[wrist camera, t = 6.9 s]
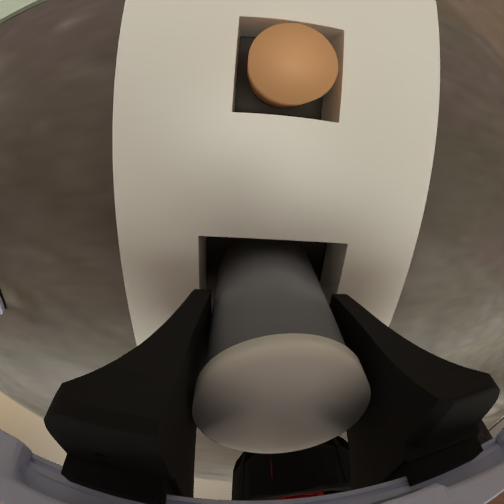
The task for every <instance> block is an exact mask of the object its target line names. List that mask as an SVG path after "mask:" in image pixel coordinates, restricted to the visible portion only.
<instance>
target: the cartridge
mask: <svg viewBox="0 0 504 504" xmlns="http://www.w3.org/2000/svg"><path fill="white" fill-rule="evenodd" d="M370 398H371V390H370V385H369V383H368V380H367V378H366V375H365V373H364V370H363V368H362V365H361V363H360V361H359V359H358V357H357V356H356V355H355V354H354V352H353V351H351V350H350V349H349V348H348V347H346V345H345V342H344V340H343V338H342V335H341V333H340V330H339V328H338V325H337V323H336V321H335V318H334V316H333V313H332V311H331V309H330V306H329V304H328V302H327V299H326V297H325V295H324V292H323V290H322V288H321V286H320V283H319V281H318V279H317V276H316V274H315V272H314V270H313V267H312V265H311V263H310V261H309V259H308V256H307V254H306V252H305V251H304V249H303V248H302V246H301V245H300V244H299V243H298V242H297V241H294V240H275V239H256V238H239V239H237V240H236V241H235V242H233V243H232V244H231V245H230V246H229V247H228V249H227V250H226V251H225V253H224V255H223V256H222V259H221V262H220V266H219V272H218V278H217V285H216V292H215V298H214V305H213V312H212V319H211V326H210V333H209V341H208V348H207V356H206V363H205V366H204V367H203V369H202V370H201V372H200V373H199V375H198V378H197V380H196V385H195V391H194V398H193V405H192V416H193V419H194V422H195V424H196V425H197V427H198V428H199V429H200V431H201V432H202V433H204V434H205V435H206V436H207V437H209V438H210V439H212V440H213V441H215V442H217V443H219V444H221V445H224V446H226V447H229V448H232V449H235V450H240V451H245V452H251V453H267V454H272V453H286V452H293V451H298V450H303V449H306V448H310V447H313V446H316V445H319V444H322V443H324V442H327V441H329V440H331V439H333V438H335V437H337V436H338V435H340V434H342V433H343V432H345V431H346V430H347V429H349V428H350V427H351V426H352V425H354V424H355V423H356V422H357V421H358V420H359V419H360V417H361V416H362V415H363V414H364V412H365V411H366V409H367V407H368V405H369V402H370Z"/></svg>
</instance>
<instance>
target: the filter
mask: <svg viewBox="0 0 504 504" xmlns="http://www.w3.org/2000/svg"><path fill="white" fill-rule="evenodd" d="M346 491H351V467H350V456H349V445H348V442H347V441H345V440H344V439H343V438H341V437H339V436H337V437H335V438H333V439H331V440H329V441H327V442H324V443H322V444H319V445H316V446H313V447H310V448H306V449H303V450H298V451H293V452H286V453H272V454H267V453H251V452H245V451H244V452H243V453H242V455H241V456H240V457H239V459H238V460H237V461H236V464H235V467H234V470H233V485H232V500H235V501H261V500H283V499H296V498H306V497H314V496H322V495H328V494H335V493H340V492H346Z"/></svg>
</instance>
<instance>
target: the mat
mask: <svg viewBox="0 0 504 504" xmlns="http://www.w3.org/2000/svg"><path fill="white" fill-rule="evenodd" d="M44 1H47V0H0V24H1V23H3V22H4V21H6V20H8V19H10V18H12V17H13V16H15V15H17V14H19V13H21V12H23V11H25V10H27V9H29V8H31V7H33V6H36V5H38V4H40V3H42V2H44Z"/></svg>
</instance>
